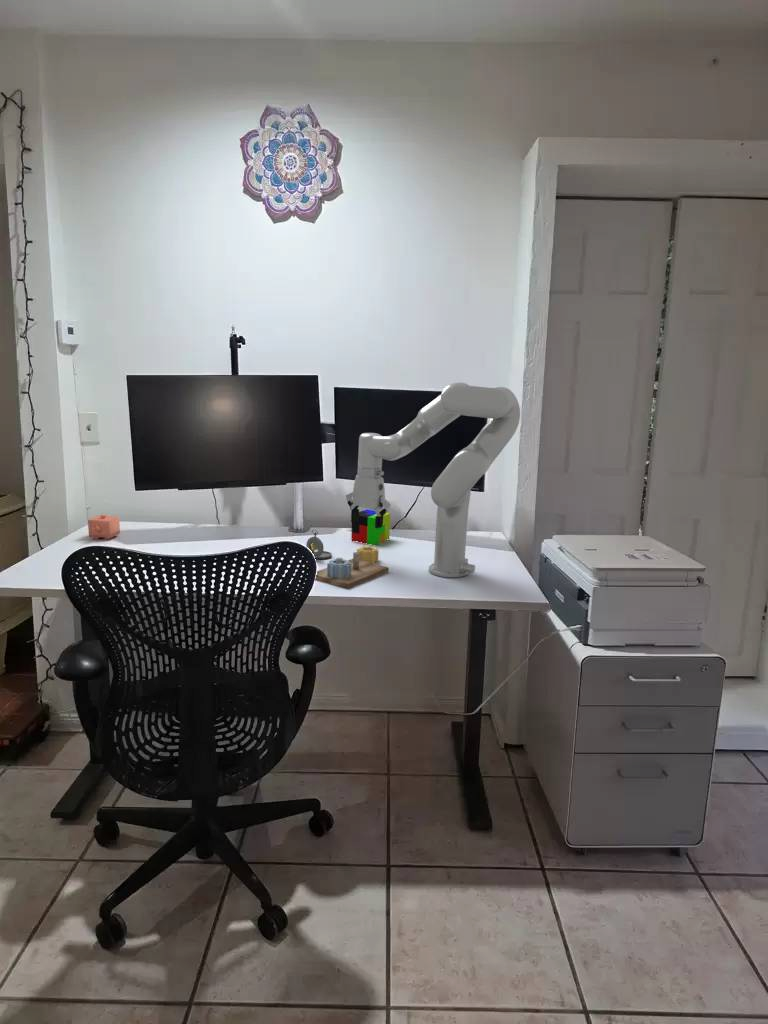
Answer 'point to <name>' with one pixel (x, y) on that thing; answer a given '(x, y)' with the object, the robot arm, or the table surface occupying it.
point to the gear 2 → (368, 554)
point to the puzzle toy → (370, 528)
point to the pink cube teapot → (103, 526)
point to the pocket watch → (317, 547)
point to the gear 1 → (339, 569)
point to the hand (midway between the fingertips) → (366, 524)
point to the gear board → (354, 573)
